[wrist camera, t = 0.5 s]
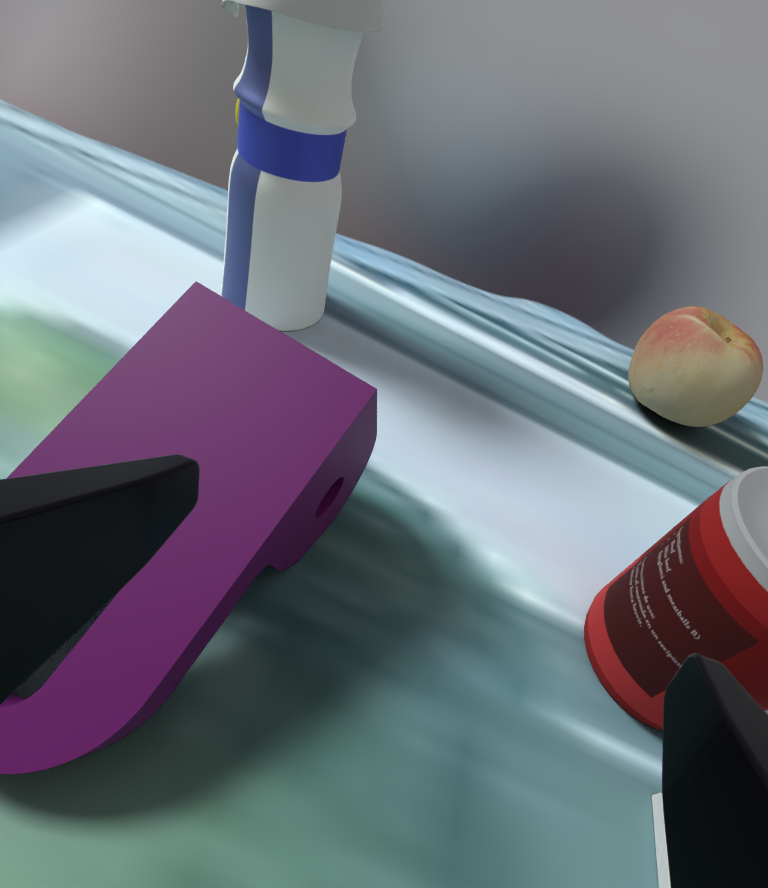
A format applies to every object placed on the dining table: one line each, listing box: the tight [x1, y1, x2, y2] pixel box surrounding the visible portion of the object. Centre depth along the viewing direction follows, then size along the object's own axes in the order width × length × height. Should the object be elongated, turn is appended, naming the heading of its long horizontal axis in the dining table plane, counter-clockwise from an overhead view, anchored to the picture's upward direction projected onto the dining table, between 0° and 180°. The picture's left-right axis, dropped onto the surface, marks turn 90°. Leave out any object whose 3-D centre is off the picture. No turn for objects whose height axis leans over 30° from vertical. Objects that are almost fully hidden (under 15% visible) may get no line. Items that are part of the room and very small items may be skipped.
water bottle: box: [221, 0, 384, 331], centre depth 30 cm, size 8×8×25 cm
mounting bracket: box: [0, 282, 377, 774], centre depth 23 cm, size 9×8×18 cm
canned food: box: [584, 466, 768, 731], centre depth 23 cm, size 8×8×11 cm
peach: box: [628, 306, 763, 427], centre depth 40 cm, size 9×9×8 cm
